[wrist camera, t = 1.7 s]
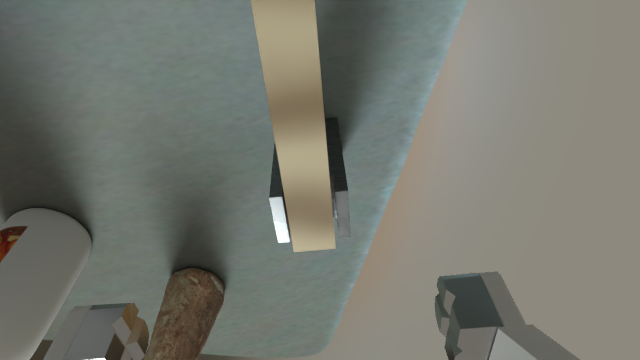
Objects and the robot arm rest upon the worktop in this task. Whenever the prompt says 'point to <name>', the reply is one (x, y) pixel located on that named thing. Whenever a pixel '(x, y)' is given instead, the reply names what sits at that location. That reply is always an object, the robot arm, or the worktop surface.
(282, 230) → the post
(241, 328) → the worktop surface
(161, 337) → the brown stone cone
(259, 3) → the rail
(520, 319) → the robot arm
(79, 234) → the milk bottle
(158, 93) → the worktop surface
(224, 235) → the worktop surface
